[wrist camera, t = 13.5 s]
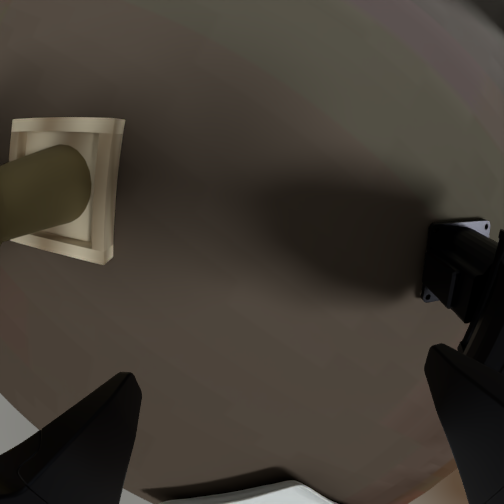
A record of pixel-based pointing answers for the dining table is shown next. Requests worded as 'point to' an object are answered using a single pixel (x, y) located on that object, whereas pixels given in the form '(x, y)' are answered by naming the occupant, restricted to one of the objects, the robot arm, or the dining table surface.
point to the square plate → (263, 496)
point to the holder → (102, 179)
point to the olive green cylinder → (42, 191)
